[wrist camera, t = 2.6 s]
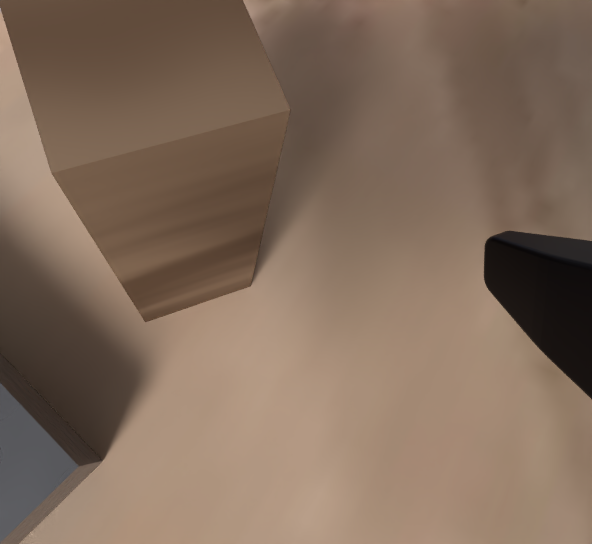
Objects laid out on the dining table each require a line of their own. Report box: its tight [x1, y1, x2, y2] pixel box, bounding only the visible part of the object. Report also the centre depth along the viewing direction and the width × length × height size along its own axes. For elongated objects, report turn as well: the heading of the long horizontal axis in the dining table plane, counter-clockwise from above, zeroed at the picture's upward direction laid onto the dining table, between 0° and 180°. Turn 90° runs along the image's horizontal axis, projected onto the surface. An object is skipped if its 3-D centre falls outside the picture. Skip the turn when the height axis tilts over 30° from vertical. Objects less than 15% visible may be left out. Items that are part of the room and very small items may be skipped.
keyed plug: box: [0, 0, 291, 322], centre depth 16 cm, size 6×4×12 cm
